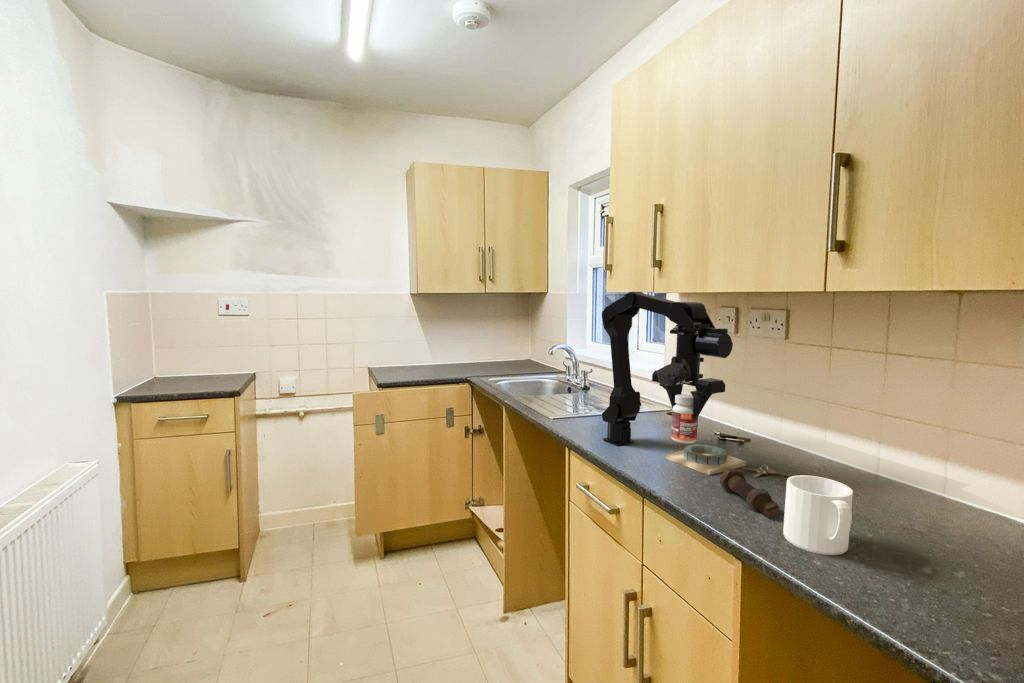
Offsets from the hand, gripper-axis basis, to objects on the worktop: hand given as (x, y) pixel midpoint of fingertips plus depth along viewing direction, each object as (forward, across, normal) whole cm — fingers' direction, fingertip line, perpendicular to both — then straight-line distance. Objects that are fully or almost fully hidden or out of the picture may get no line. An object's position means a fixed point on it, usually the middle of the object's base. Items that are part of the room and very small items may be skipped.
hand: (685, 414), depth 129 cm
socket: (+13, +1, +7) cm, 15 cm away
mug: (+13, +40, -10) cm, 44 cm away
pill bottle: (+7, 0, 0) cm, 7 cm away
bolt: (+13, +23, -6) cm, 27 cm away
